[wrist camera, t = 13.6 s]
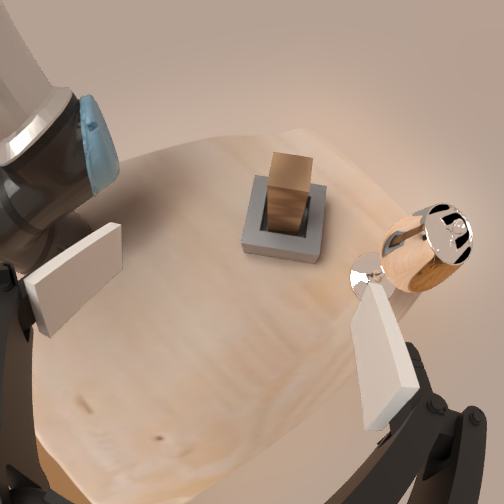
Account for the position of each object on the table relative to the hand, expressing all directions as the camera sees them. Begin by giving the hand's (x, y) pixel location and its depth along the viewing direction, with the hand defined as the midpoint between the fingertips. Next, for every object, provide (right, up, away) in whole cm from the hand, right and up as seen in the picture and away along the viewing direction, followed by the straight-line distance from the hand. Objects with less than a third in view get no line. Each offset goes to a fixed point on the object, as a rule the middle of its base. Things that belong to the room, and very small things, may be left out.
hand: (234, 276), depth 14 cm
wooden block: (+5, +5, +26) cm, 27 cm away
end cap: (+6, +5, +27) cm, 28 cm away
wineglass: (+18, -3, +25) cm, 31 cm away
